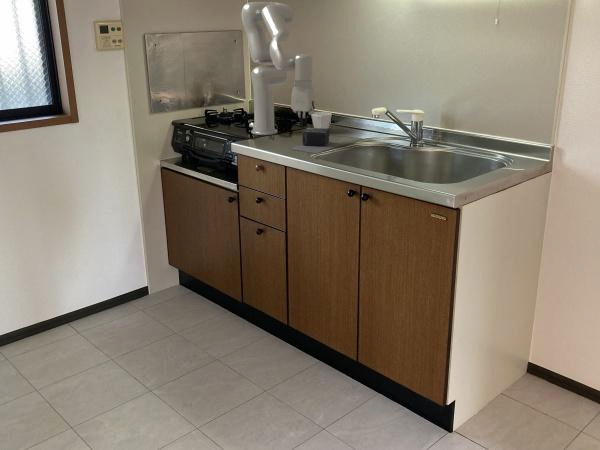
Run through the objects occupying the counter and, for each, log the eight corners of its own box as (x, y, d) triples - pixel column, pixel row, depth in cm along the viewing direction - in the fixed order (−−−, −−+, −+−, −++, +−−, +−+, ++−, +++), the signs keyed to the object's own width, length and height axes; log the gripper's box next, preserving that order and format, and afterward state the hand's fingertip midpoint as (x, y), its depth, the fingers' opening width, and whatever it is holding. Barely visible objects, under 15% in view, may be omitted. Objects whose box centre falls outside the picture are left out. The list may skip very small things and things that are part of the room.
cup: (331, 134, 300) (332, 115, 297) (311, 134, 300) (311, 115, 297) (331, 130, 309) (331, 111, 306) (310, 130, 309) (311, 111, 306)
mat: (289, 149, 269) (289, 148, 269) (319, 140, 285) (319, 140, 285) (316, 153, 261) (316, 153, 261) (345, 144, 278) (345, 144, 277)
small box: (302, 146, 274) (325, 146, 272) (302, 131, 272) (325, 131, 270) (306, 141, 284) (329, 142, 282) (306, 127, 282) (329, 127, 280)
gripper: (284, 83, 270) (284, 126, 276) (312, 86, 262) (312, 129, 268) (294, 82, 276) (295, 123, 282) (322, 84, 268) (322, 127, 274)
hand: (303, 126), depth 275 cm, fingers closed
